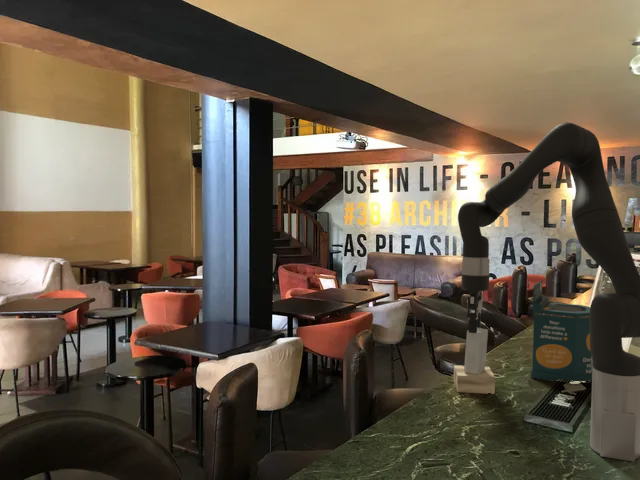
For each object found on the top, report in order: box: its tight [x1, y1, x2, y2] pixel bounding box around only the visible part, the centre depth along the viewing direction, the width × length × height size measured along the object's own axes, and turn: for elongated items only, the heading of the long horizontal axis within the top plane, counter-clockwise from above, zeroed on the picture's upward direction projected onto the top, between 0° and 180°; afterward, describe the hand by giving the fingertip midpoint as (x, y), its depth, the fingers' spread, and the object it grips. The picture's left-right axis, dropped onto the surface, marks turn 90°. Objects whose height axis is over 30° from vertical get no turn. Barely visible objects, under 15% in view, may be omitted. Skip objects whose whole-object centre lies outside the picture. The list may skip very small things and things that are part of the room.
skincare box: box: [463, 327, 489, 375], centre depth 150 cm, size 6×4×12 cm
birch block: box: [453, 364, 496, 395], centre depth 151 cm, size 10×10×5 cm
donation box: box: [530, 280, 593, 382], centre depth 161 cm, size 16×16×28 cm
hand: (474, 329), depth 150 cm, fingers open, 8 cm apart
